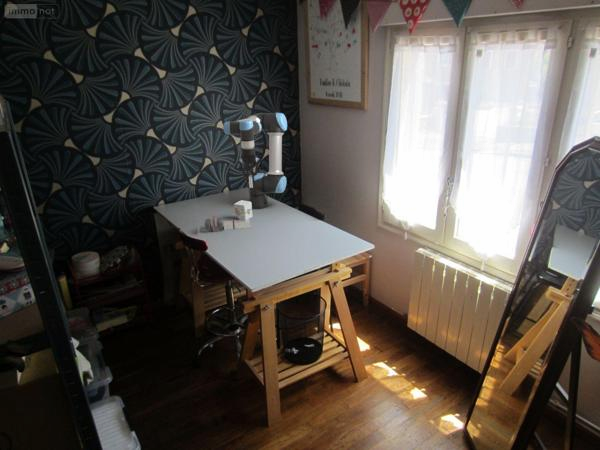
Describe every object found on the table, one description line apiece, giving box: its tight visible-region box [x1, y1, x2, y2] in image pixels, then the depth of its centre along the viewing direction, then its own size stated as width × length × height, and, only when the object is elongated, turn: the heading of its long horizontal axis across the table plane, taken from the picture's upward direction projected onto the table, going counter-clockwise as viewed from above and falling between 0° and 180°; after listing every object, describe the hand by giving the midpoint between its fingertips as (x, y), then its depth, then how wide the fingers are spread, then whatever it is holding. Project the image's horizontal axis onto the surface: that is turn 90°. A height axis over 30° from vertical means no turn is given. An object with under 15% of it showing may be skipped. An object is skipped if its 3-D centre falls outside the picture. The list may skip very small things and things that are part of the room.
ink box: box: [233, 199, 254, 220], centre depth 271 cm, size 9×9×12 cm
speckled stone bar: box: [223, 218, 251, 231], centre depth 256 cm, size 16×4×4 cm, turn 99°
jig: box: [204, 214, 224, 233], centre depth 255 cm, size 32×9×9 cm, turn 99°
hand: (251, 187), depth 249 cm, fingers closed
